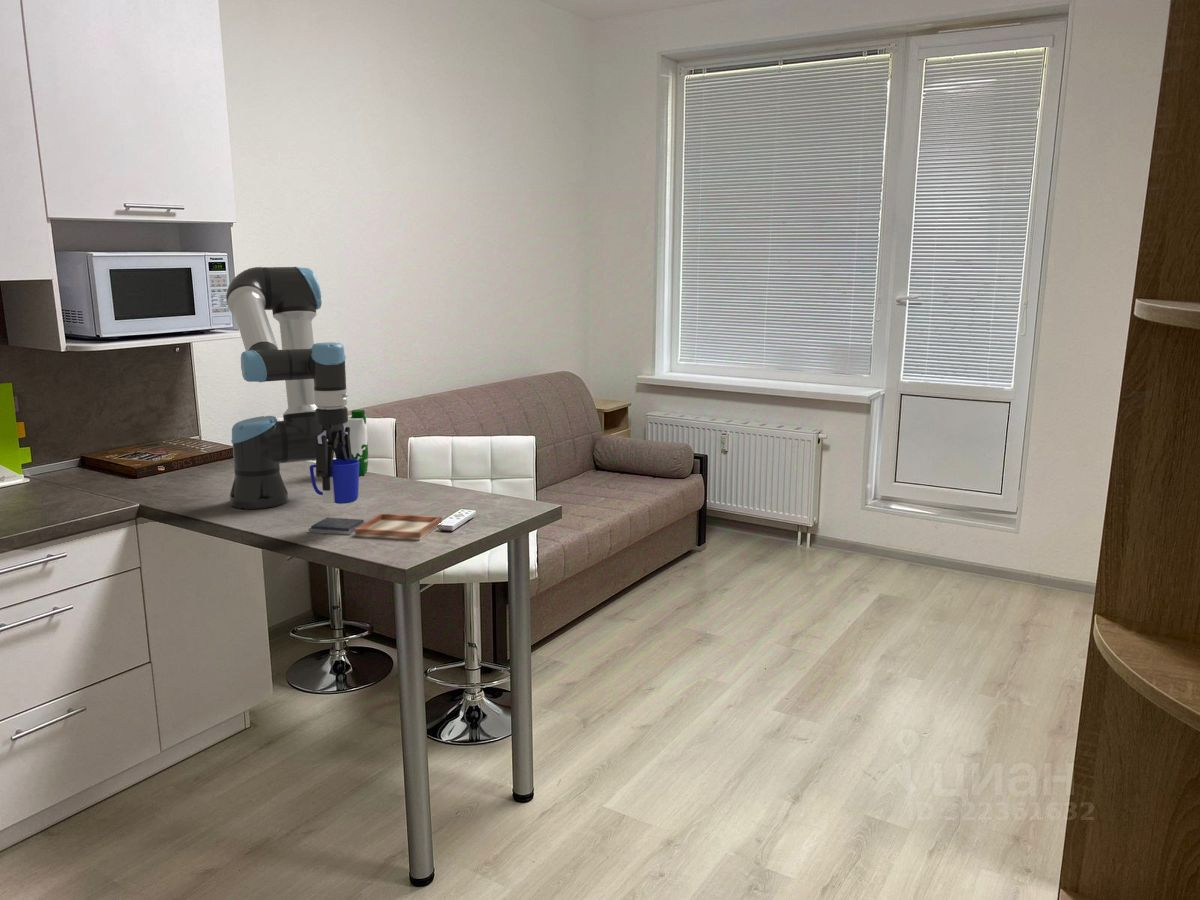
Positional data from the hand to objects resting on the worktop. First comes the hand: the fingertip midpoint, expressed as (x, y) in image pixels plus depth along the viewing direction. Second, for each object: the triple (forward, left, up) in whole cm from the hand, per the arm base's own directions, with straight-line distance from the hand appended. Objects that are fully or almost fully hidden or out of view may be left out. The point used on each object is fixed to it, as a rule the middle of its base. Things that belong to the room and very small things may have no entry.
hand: (336, 498), depth 225 cm
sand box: (+15, +2, -8) cm, 17 cm away
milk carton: (-24, +58, -8) cm, 63 cm away
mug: (0, 0, -1) cm, 1 cm away
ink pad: (0, 0, -8) cm, 8 cm away
